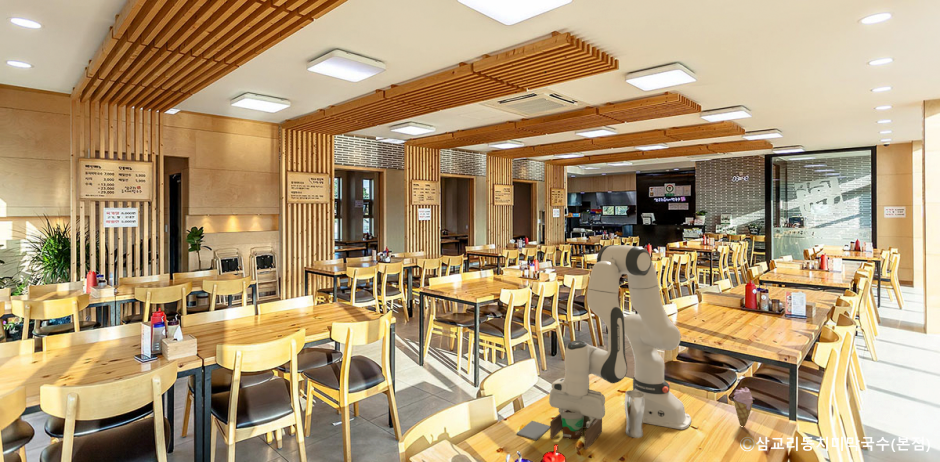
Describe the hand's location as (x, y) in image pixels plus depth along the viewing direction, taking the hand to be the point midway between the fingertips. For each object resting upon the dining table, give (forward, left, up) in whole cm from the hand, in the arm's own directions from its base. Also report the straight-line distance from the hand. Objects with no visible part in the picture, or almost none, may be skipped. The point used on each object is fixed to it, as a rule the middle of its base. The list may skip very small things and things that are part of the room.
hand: (576, 423), depth 166 cm
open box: (0, 0, -4) cm, 4 cm away
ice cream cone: (-49, -42, -4) cm, 65 cm away
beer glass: (-17, -13, -4) cm, 22 cm away
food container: (0, 0, -4) cm, 4 cm away
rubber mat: (+14, +6, -4) cm, 16 cm away
